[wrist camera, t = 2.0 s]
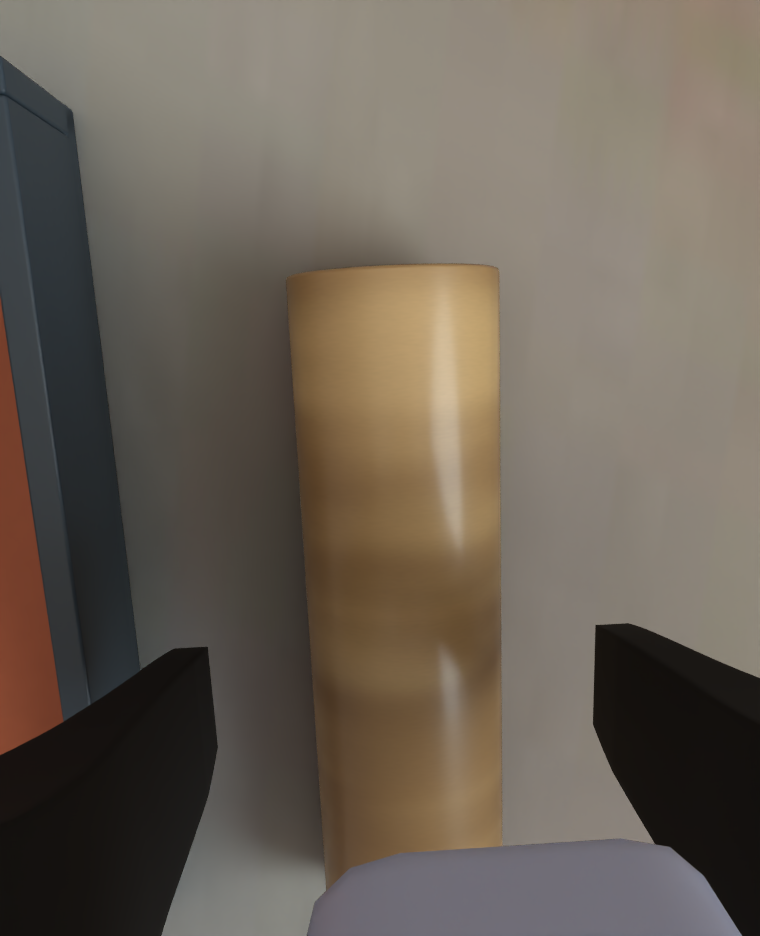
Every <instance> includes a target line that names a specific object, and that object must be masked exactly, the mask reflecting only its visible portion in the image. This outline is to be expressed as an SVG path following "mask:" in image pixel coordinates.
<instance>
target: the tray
mask: <svg viewBox="0 0 760 936" xmlns="http://www.w3.org/2000/svg"><path fill="white" fill-rule="evenodd" d="M139 671H140V664H139V656H138V648H137V640H136V631H135V623H134V615H133V607H132V598H131V590H130V582H129V574H128V566H127V557H126V549H125V541H124V533H123V524H122V516H121V508H120V500H119V492H118V483H117V475H116V467H115V459H114V450H113V442H112V434H111V426H110V417H109V409H108V401H107V393H106V385H105V376H104V368H103V360H102V352H101V343H100V335H99V327H98V319H97V311H96V302H95V294H94V286H93V278H92V269H91V261H90V253H89V245H88V236H87V228H86V220H85V212H84V204H83V195H82V187H81V179H80V171H79V162H78V154H77V146H76V138H75V130H74V121H73V113H72V110H71V109H69V108H68V107H67V106H66V105H64V104H62V103H61V102H60V101H59V100H57V99H56V98H55V97H53V96H52V95H51V94H49V93H48V92H47V91H46V90H44V89H43V88H42V87H40V86H39V85H38V84H37V83H35V82H34V81H33V80H31V79H30V78H29V77H27V76H26V75H25V74H24V73H22V72H21V71H20V70H18V69H17V68H16V67H14V66H13V65H12V64H11V63H9V62H8V61H7V60H5V59H4V58H3V57H1V56H0V755H1V754H3V753H5V752H8V751H10V750H12V749H14V748H16V747H18V746H19V745H21V744H23V743H25V742H27V741H29V740H31V739H33V738H35V737H37V736H39V735H41V734H43V733H44V732H46V731H48V730H50V729H52V728H53V727H55V726H57V725H59V724H60V723H62V722H64V721H65V720H67V719H68V718H70V717H72V716H73V715H75V714H76V713H78V712H79V711H81V710H83V709H84V708H86V707H87V706H89V705H91V704H92V703H94V702H95V701H97V700H98V699H100V698H102V697H103V696H105V695H106V694H108V693H109V692H111V691H112V690H113V689H115V688H116V687H118V686H119V685H121V684H122V683H123V682H125V681H126V680H128V679H129V678H131V677H132V676H133V675H135V674H136V673H138V672H139Z"/></svg>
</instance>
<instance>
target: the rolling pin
mask: <svg viewBox="0 0 760 936" xmlns="http://www.w3.org/2000/svg"><path fill="white" fill-rule="evenodd" d="M286 290H287V305H288V320H289V335H290V350H291V365H292V380H293V395H294V411H295V426H296V441H297V456H298V471H299V486H300V501H301V516H302V531H303V546H304V561H305V576H306V592H307V607H308V622H309V637H310V652H311V667H312V682H313V697H314V712H315V727H316V742H317V757H318V773H319V788H320V803H321V818H322V833H323V848H324V863H325V878H326V891H327V890H328V889H329V888H330V887H331V886H332V885H333V884H334V883H335V882H336V881H337V880H338V879H339V878H340V877H341V876H342V875H343V874H344V873H345V872H346V871H347V870H348V869H349V868H352V867H355V866H359V865H362V864H365V863H369V862H372V861H375V860H379V859H382V858H385V857H389V856H392V855H395V854H399V853H408V852H424V851H439V850H454V849H469V848H485V847H500V846H502V692H501V503H500V313H499V270H498V268H496V267H494V266H489V265H480V264H398V265H377V266H360V267H347V268H335V269H325V270H316V271H309V272H303V273H297V274H293V275H291V276H289V277H287V279H286Z"/></svg>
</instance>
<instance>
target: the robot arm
mask: <svg viewBox="0 0 760 936" xmlns="http://www.w3.org/2000/svg"><path fill="white" fill-rule="evenodd" d="M593 725H594V728H595V731H596V733H597V736H598V738H599V741H600V743H601V746H602V748H603V751H604V753H605V755H606V758H607V760H608V762H609V765H610V767H611V769H612V771H613V773H614V775H615V777H616V778H617V780H618V782H619V784H620V785H621V787H622V789H623V791H624V792H625V794H626V796H627V797H628V799H629V801H630V803H631V804H632V806H633V808H634V809H635V811H636V813H637V814H638V816H639V818H640V819H641V821H642V823H643V824H644V826H645V828H646V829H647V831H648V833H649V834H650V836H651V838H652V839H653V841H654V843H655V844H656V845H655V844H650V843H644V842H638V841H632V840H626V839H606V840H591V841H576V842H561V843H545V844H530V845H515V846H500V847H485V848H469V849H454V850H439V851H424V852H408V853H399V854H395V855H392V856H389V857H385V858H382V859H379V860H375V861H372V862H369V863H365V864H362V865H359V866H355V867H352V868H349V869H348V870H347V871H346V872H345V873H344V874H343V875H342V876H341V877H340V878H339V879H338V880H337V881H336V882H335V883H334V884H333V885H332V886H331V887H330V888H329V889H328V890H327V891H326V892H325V893H324V894H323V895H322V896H321V897H320V898H319V899H318V900H317V901H316V902H315V903H314V908H313V912H312V916H311V920H310V924H309V928H308V932H307V936H760V678H758V677H755V676H753V675H750V674H748V673H745V672H743V671H740V670H738V669H735V668H733V667H731V666H728V665H726V664H723V663H721V662H719V661H717V660H714V659H712V658H710V657H707V656H705V655H703V654H701V653H699V652H696V651H694V650H692V649H690V648H687V647H685V646H683V645H681V644H679V643H676V642H674V641H672V640H670V639H668V638H665V637H663V636H661V635H659V634H656V633H654V632H651V631H649V630H647V629H644V628H641V627H638V626H636V625H632V624H628V623H627V624H609V625H596V632H595V670H594V708H593ZM217 748H218V745H217V735H216V725H215V715H214V706H213V696H212V686H211V676H210V666H209V656H208V647H197V648H179V649H173V650H171V651H169V652H167V653H166V654H164V655H162V656H161V657H159V658H158V659H156V660H155V661H153V662H152V663H151V664H149V665H148V666H146V667H145V668H143V669H142V670H141V671H139V672H138V673H136V674H135V675H133V676H132V677H131V678H129V679H128V680H126V681H125V682H123V683H122V684H121V685H119V686H118V687H116V688H115V689H113V690H112V691H111V692H109V693H108V694H106V695H105V696H103V697H102V698H100V699H98V700H97V701H95V702H94V703H92V704H91V705H89V706H87V707H86V708H84V709H83V710H81V711H79V712H78V713H76V714H75V715H73V716H72V717H70V718H68V719H67V720H65V721H64V722H62V723H60V724H59V725H57V726H55V727H53V728H52V729H50V730H48V731H46V732H44V733H43V734H41V735H39V736H37V737H35V738H33V739H31V740H29V741H27V742H25V743H23V744H21V745H19V746H18V747H16V748H14V749H12V750H10V751H8V752H5V753H3V754H1V755H0V936H161V935H162V932H163V928H164V925H165V922H166V918H167V915H168V912H169V909H170V906H171V903H172V900H173V897H174V894H175V891H176V889H177V886H178V883H179V880H180V877H181V874H182V871H183V868H184V865H185V863H186V860H187V857H188V854H189V851H190V848H191V845H192V842H193V840H194V837H195V834H196V831H197V828H198V825H199V822H200V819H201V816H202V813H203V810H204V807H205V804H206V801H207V798H208V794H209V789H210V784H211V780H212V775H213V770H214V764H215V759H216V753H217Z"/></svg>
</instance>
